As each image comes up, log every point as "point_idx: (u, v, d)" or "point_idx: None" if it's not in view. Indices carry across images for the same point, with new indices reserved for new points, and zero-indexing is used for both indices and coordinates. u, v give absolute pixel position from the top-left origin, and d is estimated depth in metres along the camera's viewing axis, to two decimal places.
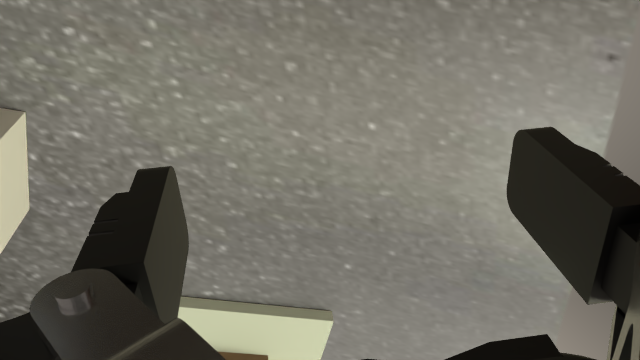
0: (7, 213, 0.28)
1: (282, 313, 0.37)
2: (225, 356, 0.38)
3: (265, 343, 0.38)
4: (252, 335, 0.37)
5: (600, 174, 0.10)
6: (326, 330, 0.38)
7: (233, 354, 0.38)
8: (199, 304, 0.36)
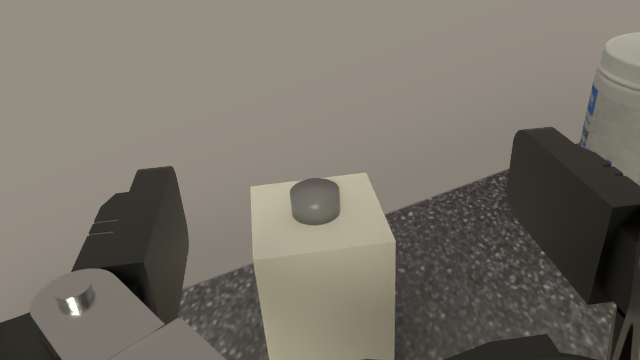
0: None
1: None
2: None
3: None
4: None
5: (600, 174, 0.10)
6: None
7: None
8: None
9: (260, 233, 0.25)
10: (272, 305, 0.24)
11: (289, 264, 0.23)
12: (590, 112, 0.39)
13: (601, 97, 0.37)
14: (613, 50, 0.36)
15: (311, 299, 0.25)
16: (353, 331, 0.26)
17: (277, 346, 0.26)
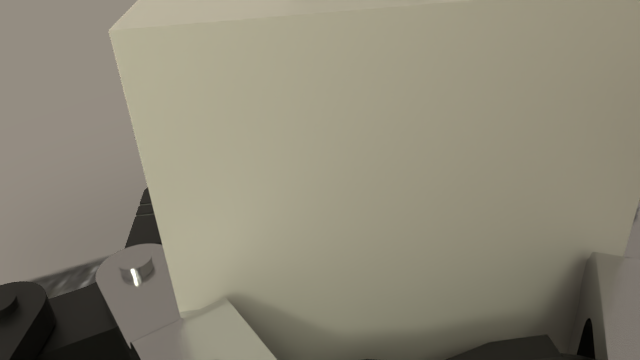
0: None
1: None
2: None
3: None
4: None
5: None
6: None
7: None
8: None
9: None
10: (207, 247, 0.07)
11: (269, 66, 0.06)
12: None
13: None
14: None
15: (349, 228, 0.07)
16: (475, 345, 0.08)
17: None
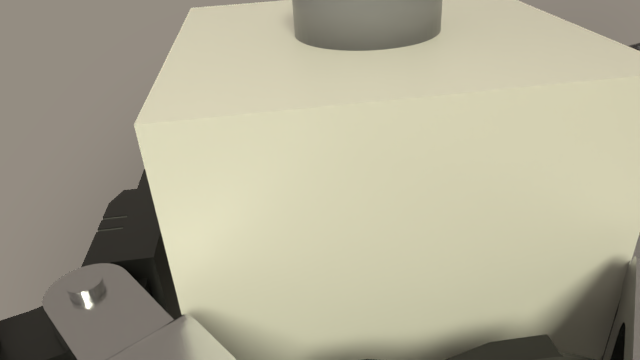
0: None
1: None
2: None
3: None
4: None
5: None
6: None
7: None
8: None
9: (187, 68, 0.07)
10: (222, 310, 0.07)
11: (282, 153, 0.06)
12: None
13: None
14: None
15: (356, 291, 0.07)
16: None
17: None
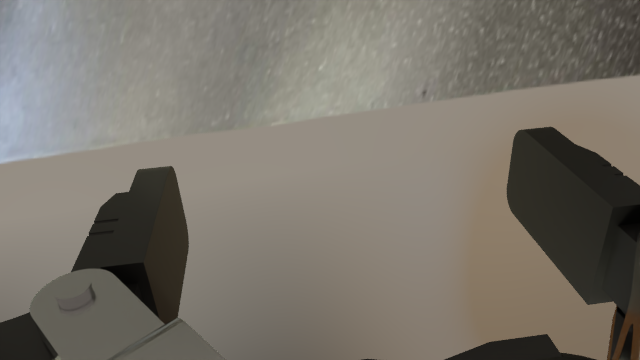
0: None
1: None
2: None
3: None
4: None
5: (600, 174, 0.10)
6: None
7: None
8: None
9: None
10: None
11: None
12: None
13: None
14: None
15: None
16: None
17: None
